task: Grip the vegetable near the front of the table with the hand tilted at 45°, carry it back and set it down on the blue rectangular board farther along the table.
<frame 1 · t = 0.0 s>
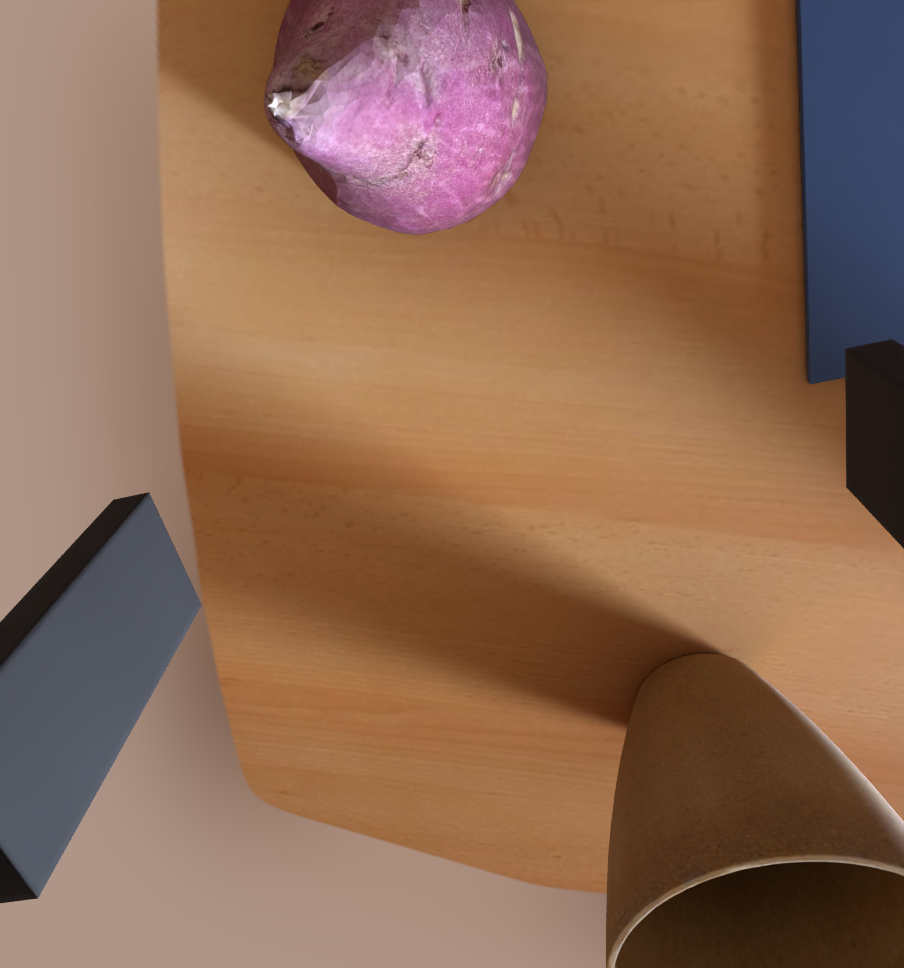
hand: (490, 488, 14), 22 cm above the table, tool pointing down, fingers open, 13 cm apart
vegetable: (418, 95, 31), on the table
plant pot: (693, 700, 45), on the table
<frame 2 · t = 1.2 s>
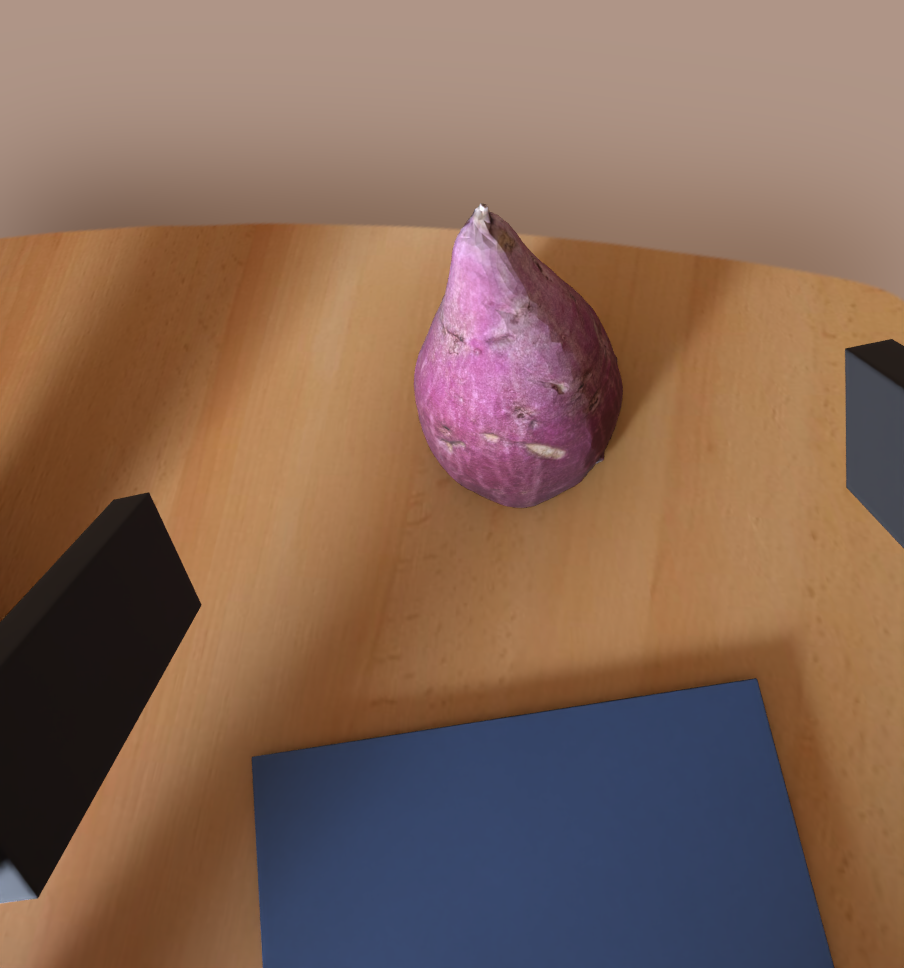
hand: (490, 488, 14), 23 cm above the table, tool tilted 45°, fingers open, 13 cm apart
blue rectangular board: (526, 935, 33), on the table
vegetable: (522, 414, 40), on the table
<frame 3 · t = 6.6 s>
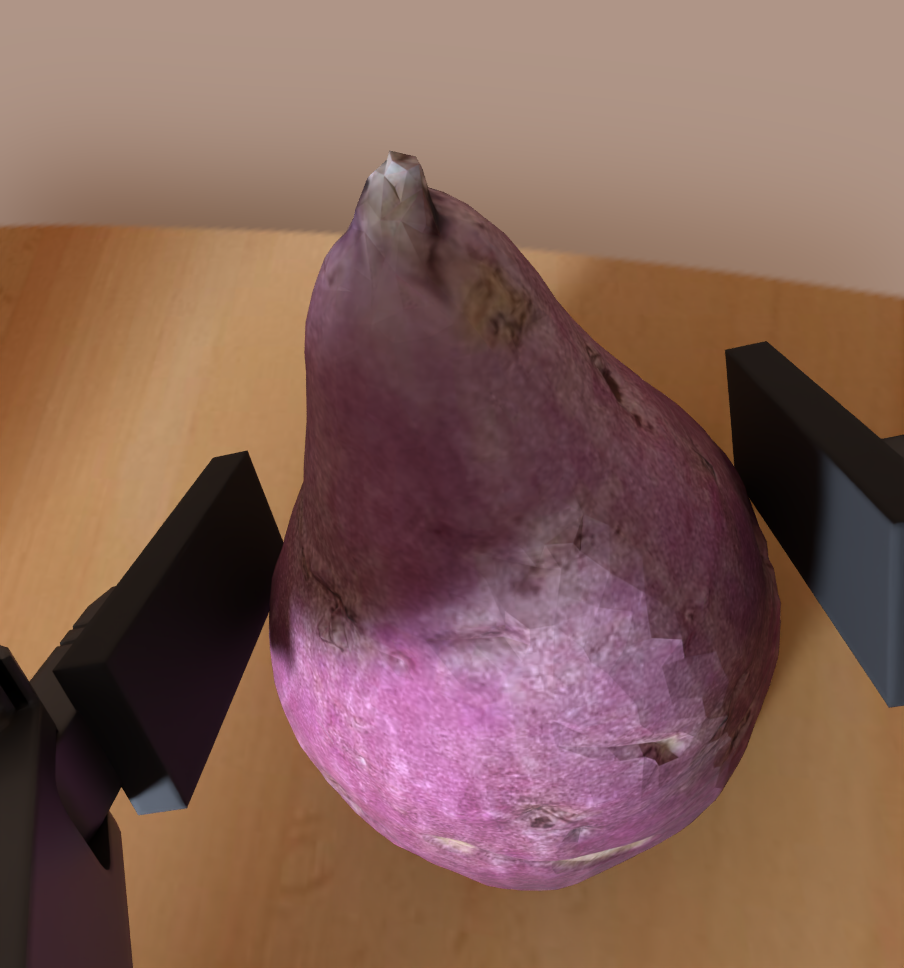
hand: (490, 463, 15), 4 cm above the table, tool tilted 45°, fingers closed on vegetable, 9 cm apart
vegetable: (535, 641, 19), on the table, touching gripper
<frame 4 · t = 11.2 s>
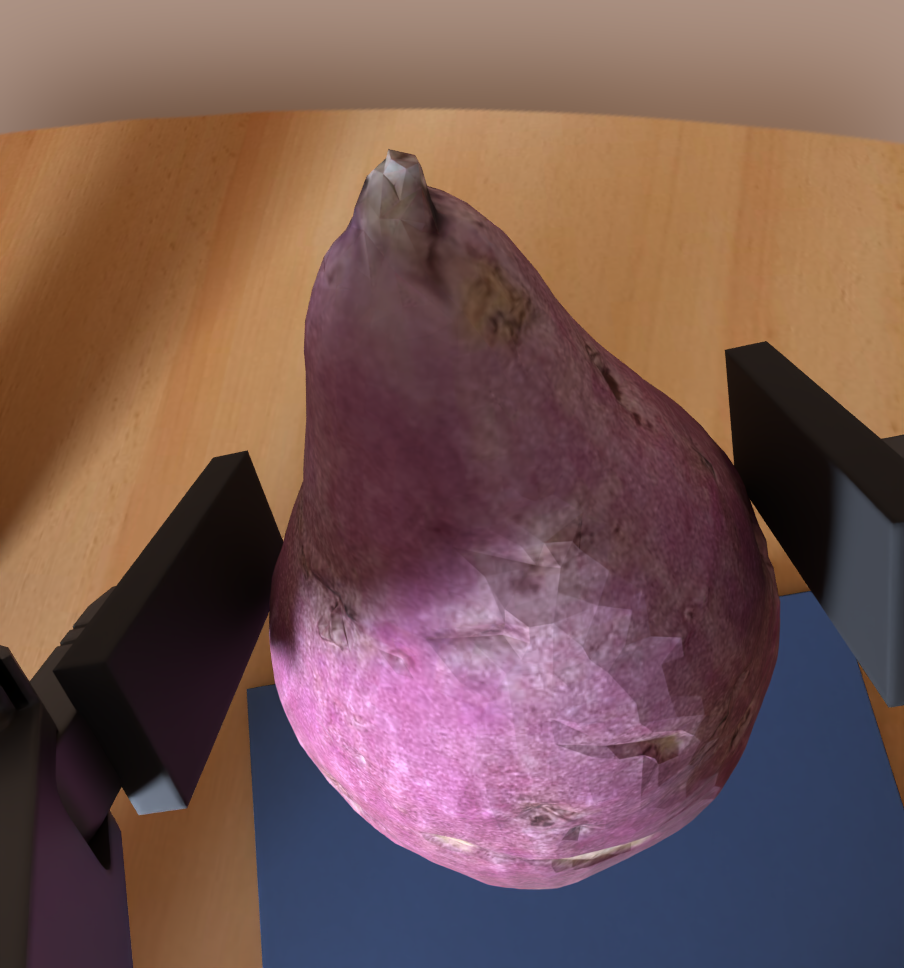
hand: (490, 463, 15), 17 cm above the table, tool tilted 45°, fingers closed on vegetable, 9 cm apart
blue rectangular board: (568, 885, 28), on the table
vegetable: (536, 640, 19), point 12 cm above the table, touching gripper
when the fingers open (5 cm above the table, at t = 16.0 s): vegetable stays where it is, resting on blue rectangular board.
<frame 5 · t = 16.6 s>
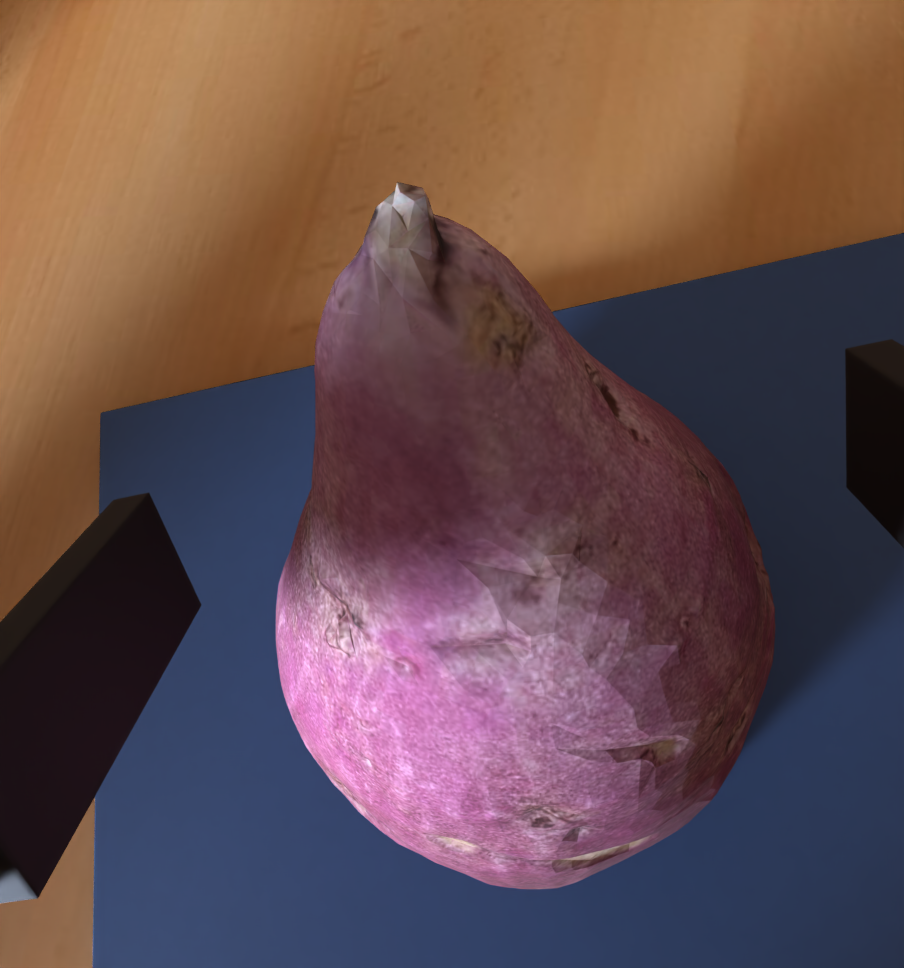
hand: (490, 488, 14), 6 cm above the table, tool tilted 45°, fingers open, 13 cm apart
blue rectangular board: (537, 643, 19), on the table
vegetable: (536, 644, 19), resting on blue rectangular board
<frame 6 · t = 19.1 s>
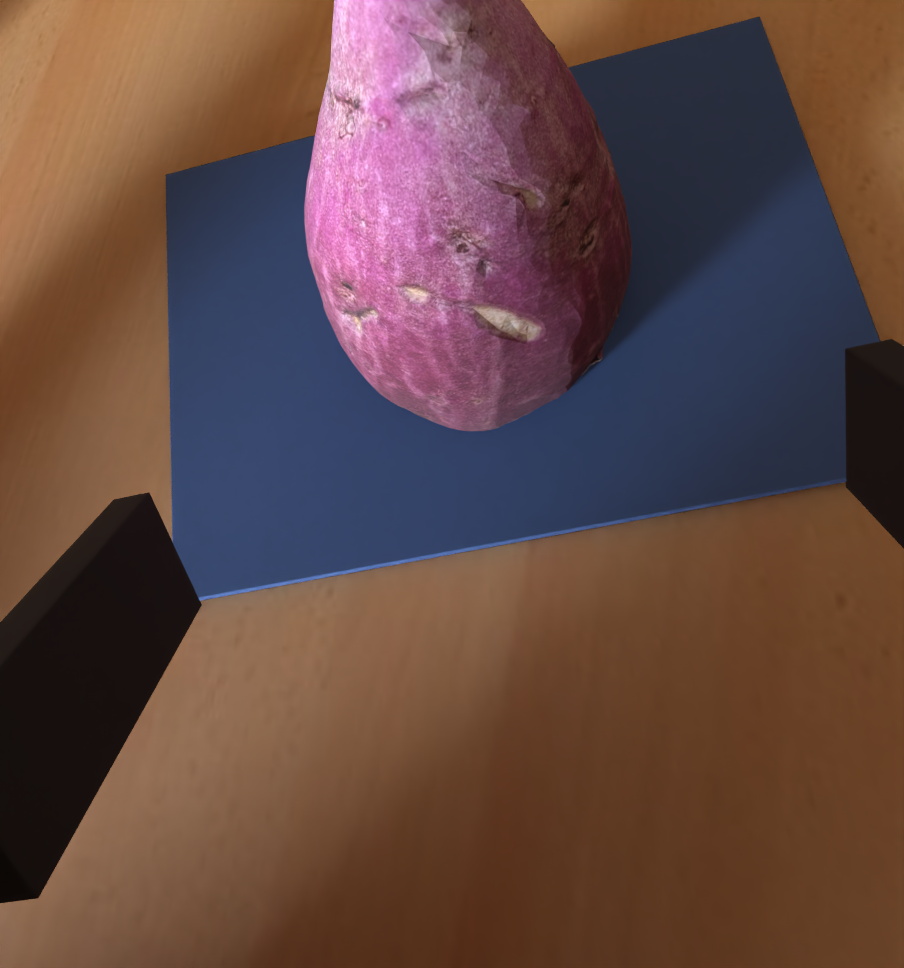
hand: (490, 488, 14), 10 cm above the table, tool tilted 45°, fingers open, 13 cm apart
blue rectangular board: (483, 300, 27), on the table
vegetable: (482, 298, 27), resting on blue rectangular board
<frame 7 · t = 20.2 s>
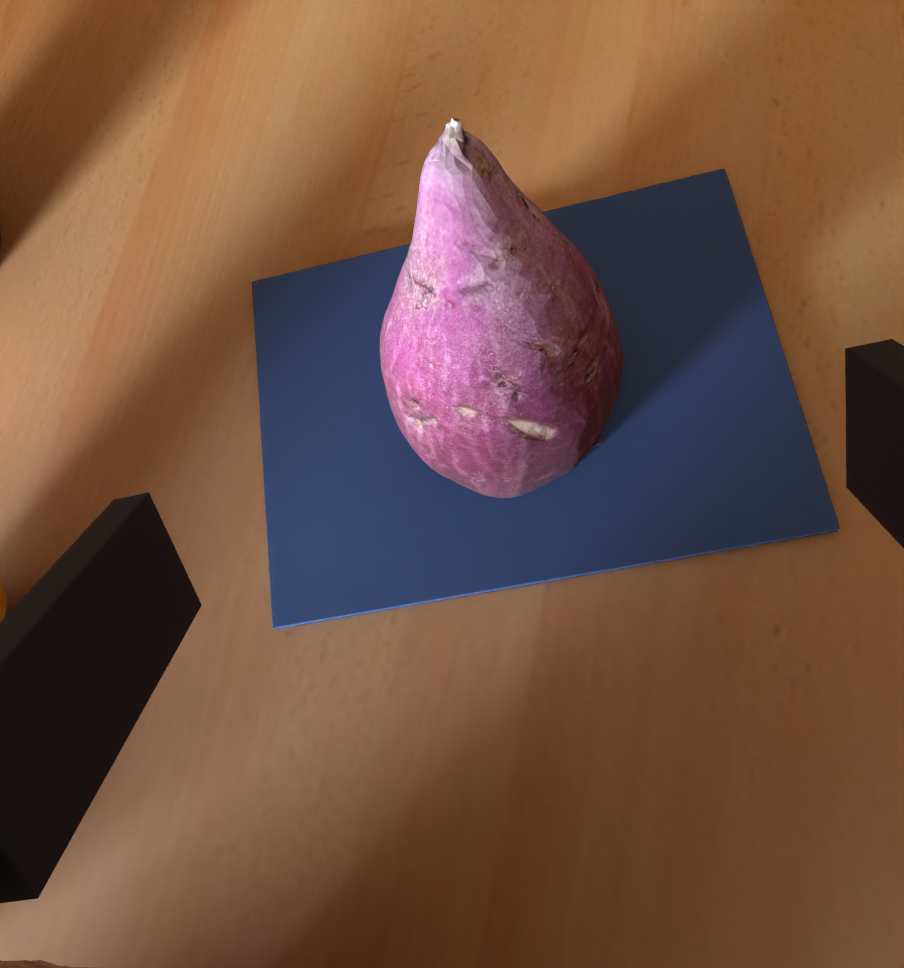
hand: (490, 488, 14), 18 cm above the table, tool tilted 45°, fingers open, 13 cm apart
blue rectangular board: (508, 392, 35), on the table
vegetable: (507, 391, 35), resting on blue rectangular board
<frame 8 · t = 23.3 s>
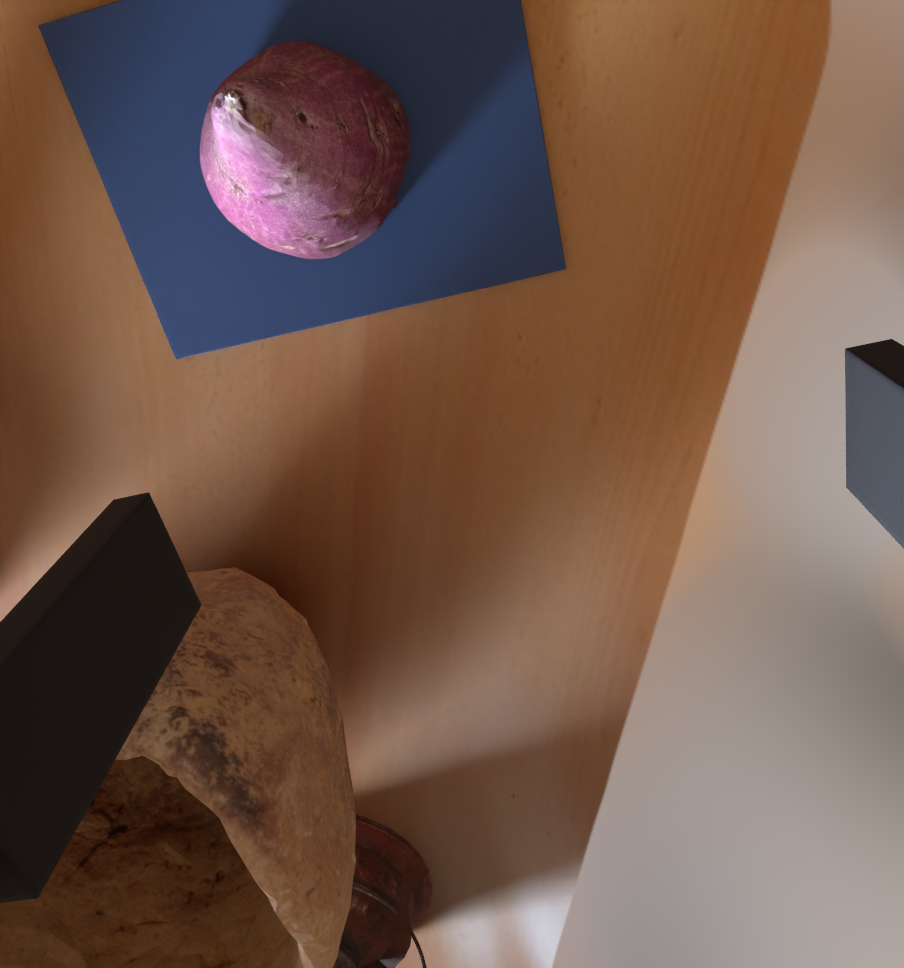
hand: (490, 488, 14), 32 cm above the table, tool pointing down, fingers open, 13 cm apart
blue rectangular board: (317, 153, 41), on the table
vegetable: (317, 154, 41), resting on blue rectangular board
rough clay pot: (242, 610, 55), on the table
lantern: (327, 881, 69), on the table
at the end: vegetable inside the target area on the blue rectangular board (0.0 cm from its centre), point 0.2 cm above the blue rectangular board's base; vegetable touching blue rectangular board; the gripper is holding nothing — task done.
